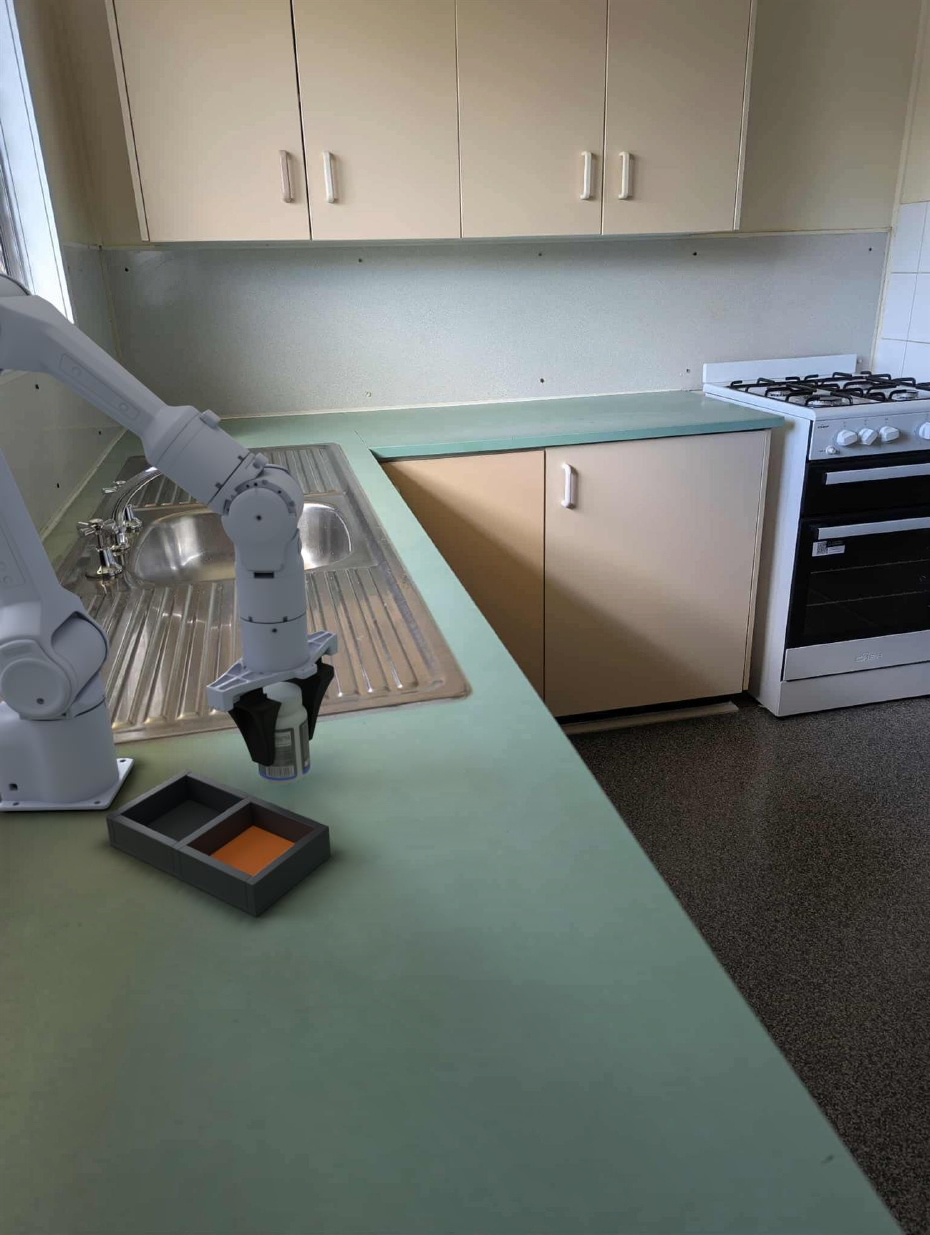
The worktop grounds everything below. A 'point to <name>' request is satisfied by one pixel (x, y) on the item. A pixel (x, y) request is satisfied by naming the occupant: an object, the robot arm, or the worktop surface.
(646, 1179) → the worktop surface
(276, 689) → the pill bottle
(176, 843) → the tray
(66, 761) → the robot arm
